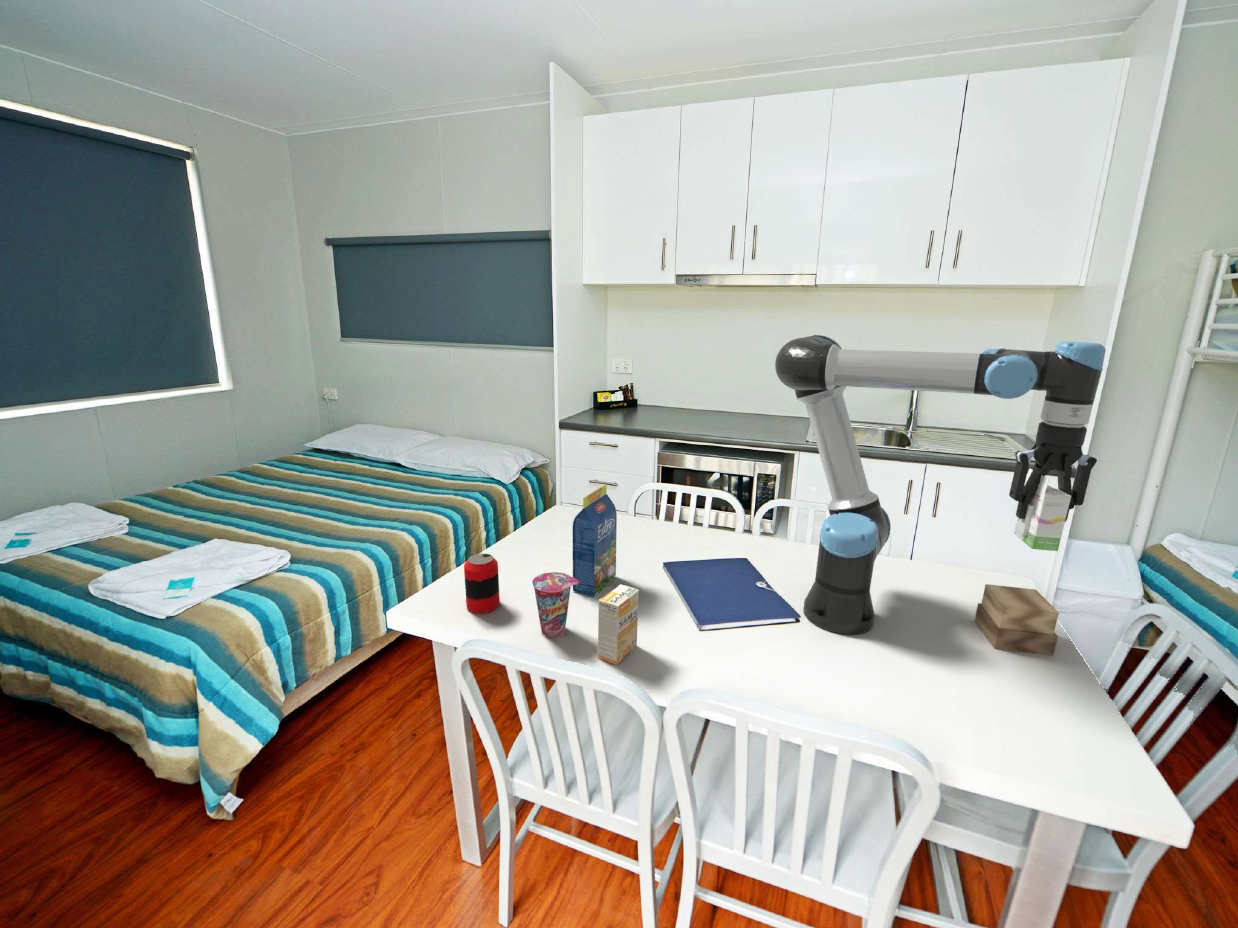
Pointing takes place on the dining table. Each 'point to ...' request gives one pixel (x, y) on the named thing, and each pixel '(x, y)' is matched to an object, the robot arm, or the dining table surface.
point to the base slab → (1014, 636)
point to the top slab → (1019, 609)
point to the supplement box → (617, 623)
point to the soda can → (481, 583)
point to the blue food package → (594, 543)
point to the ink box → (1046, 516)
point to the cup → (553, 601)
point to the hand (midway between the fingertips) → (1036, 534)
